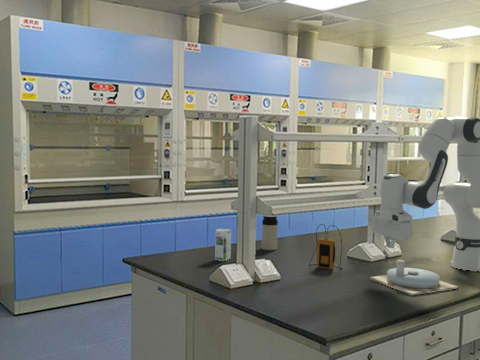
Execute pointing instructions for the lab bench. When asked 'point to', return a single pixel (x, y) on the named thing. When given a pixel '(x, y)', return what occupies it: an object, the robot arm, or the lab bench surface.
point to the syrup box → (222, 244)
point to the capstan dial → (412, 276)
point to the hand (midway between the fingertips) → (390, 247)
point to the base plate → (411, 290)
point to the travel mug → (269, 233)
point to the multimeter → (326, 252)
